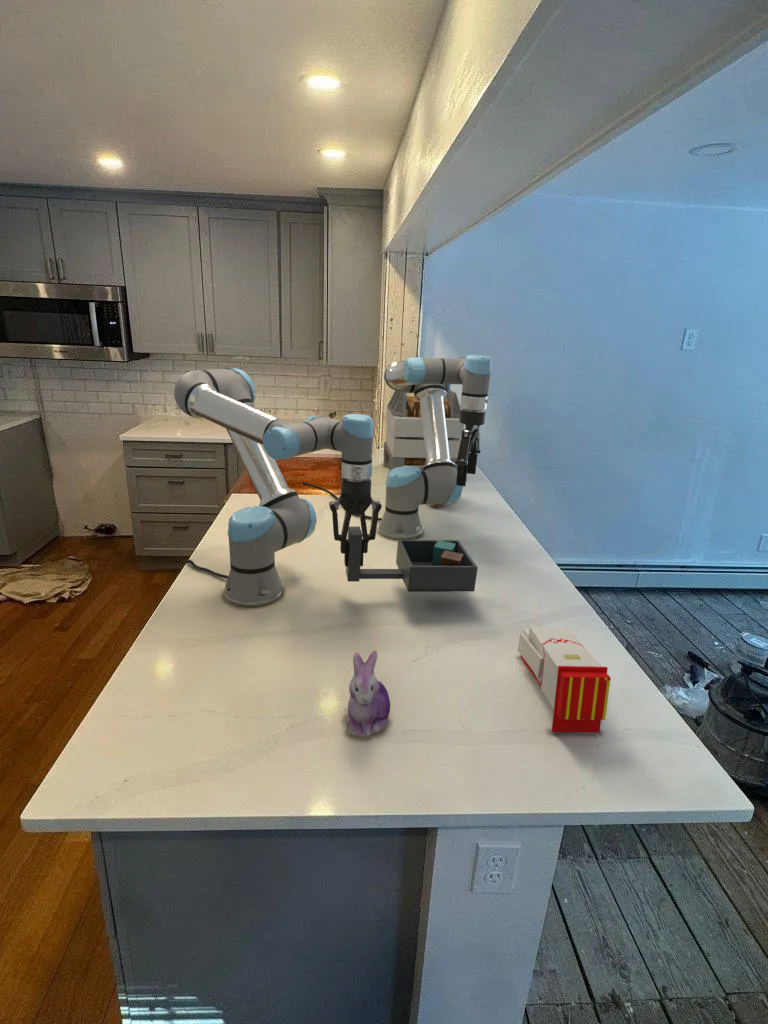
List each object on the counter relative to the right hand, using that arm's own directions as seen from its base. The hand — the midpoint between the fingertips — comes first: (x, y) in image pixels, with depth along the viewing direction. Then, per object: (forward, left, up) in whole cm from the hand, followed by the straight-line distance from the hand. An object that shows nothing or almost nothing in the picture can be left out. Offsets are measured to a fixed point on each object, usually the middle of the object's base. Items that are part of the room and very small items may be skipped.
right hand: (466, 479), depth 173 cm
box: (+10, -33, -19) cm, 39 cm away
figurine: (+41, -71, -27) cm, 87 cm away
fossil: (-44, +38, -27) cm, 63 cm away
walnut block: (+19, -26, -19) cm, 37 cm away
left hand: (+3, -45, -15) cm, 48 cm away
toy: (+57, -33, -27) cm, 72 cm away
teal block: (+13, -22, -19) cm, 32 cm away
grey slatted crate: (-79, +59, -27) cm, 102 cm away
